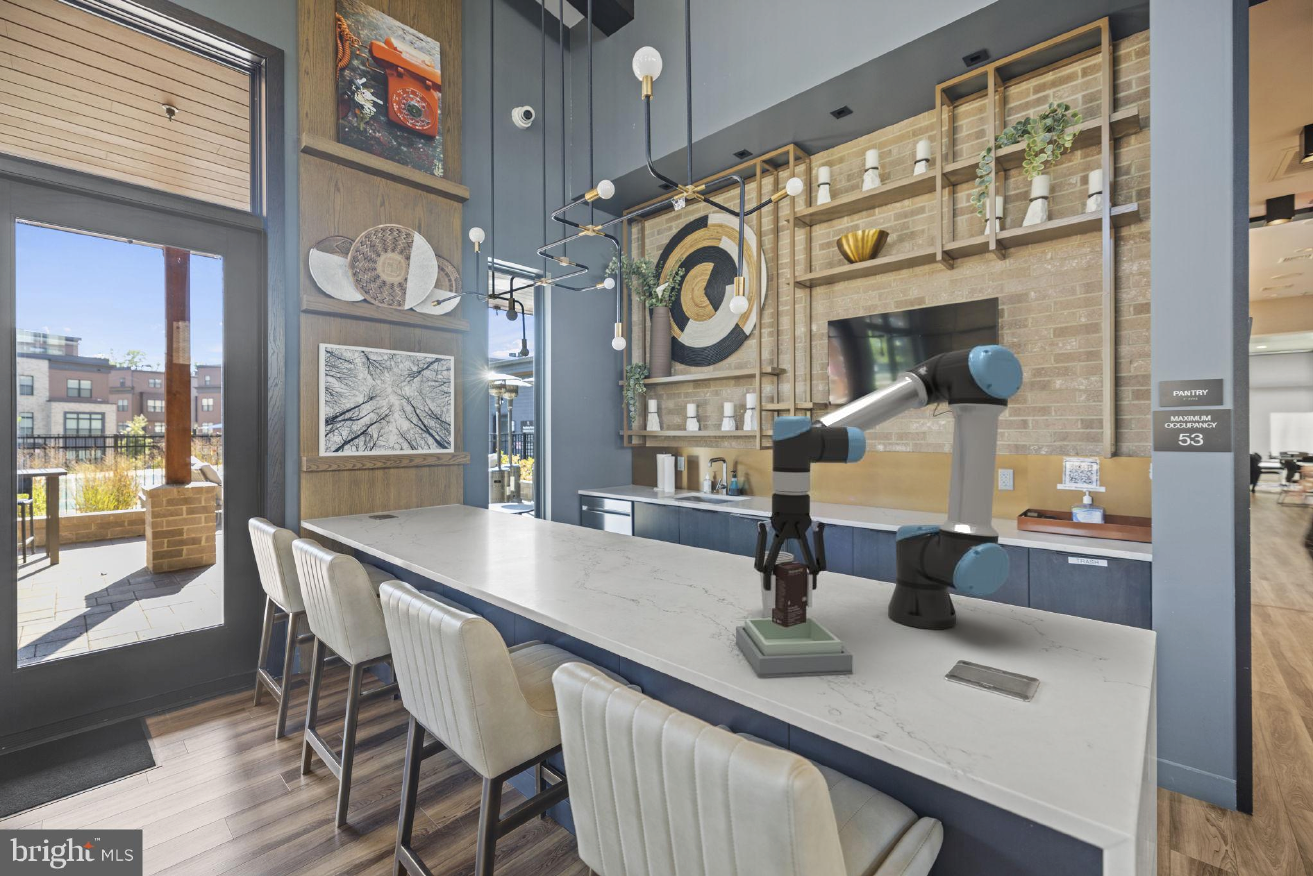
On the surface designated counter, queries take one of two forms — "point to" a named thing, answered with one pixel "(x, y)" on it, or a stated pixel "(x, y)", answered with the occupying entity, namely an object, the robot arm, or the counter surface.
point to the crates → (792, 649)
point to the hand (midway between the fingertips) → (789, 605)
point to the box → (790, 594)
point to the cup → (781, 558)
